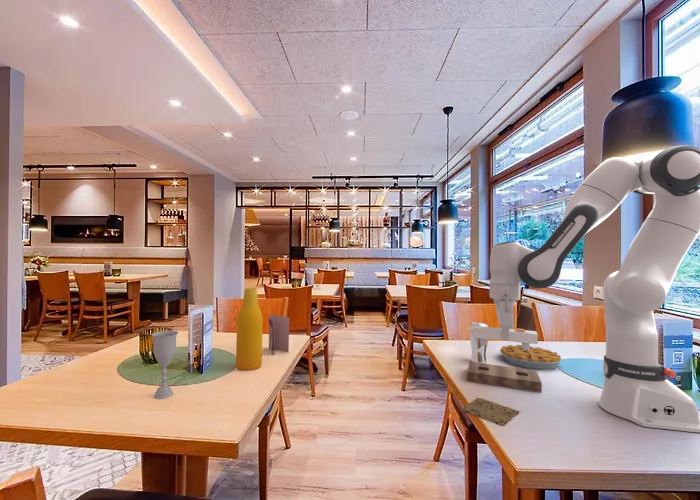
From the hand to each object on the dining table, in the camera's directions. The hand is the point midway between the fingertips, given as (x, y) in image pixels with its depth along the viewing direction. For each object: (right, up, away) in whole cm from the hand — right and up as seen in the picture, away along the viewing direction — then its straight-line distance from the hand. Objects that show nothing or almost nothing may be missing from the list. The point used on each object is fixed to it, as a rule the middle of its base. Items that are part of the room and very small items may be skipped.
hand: (504, 337), depth 103 cm
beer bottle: (-86, -16, +18) cm, 89 cm away
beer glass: (+4, -18, +30) cm, 35 cm away
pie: (+25, -18, +30) cm, 43 cm away
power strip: (0, -3, 0) cm, 3 cm away
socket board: (+4, -17, +10) cm, 20 cm away
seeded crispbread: (-10, -17, -13) cm, 24 cm away
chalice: (-103, -15, -7) cm, 104 cm away
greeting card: (-80, -16, +39) cm, 90 cm away
